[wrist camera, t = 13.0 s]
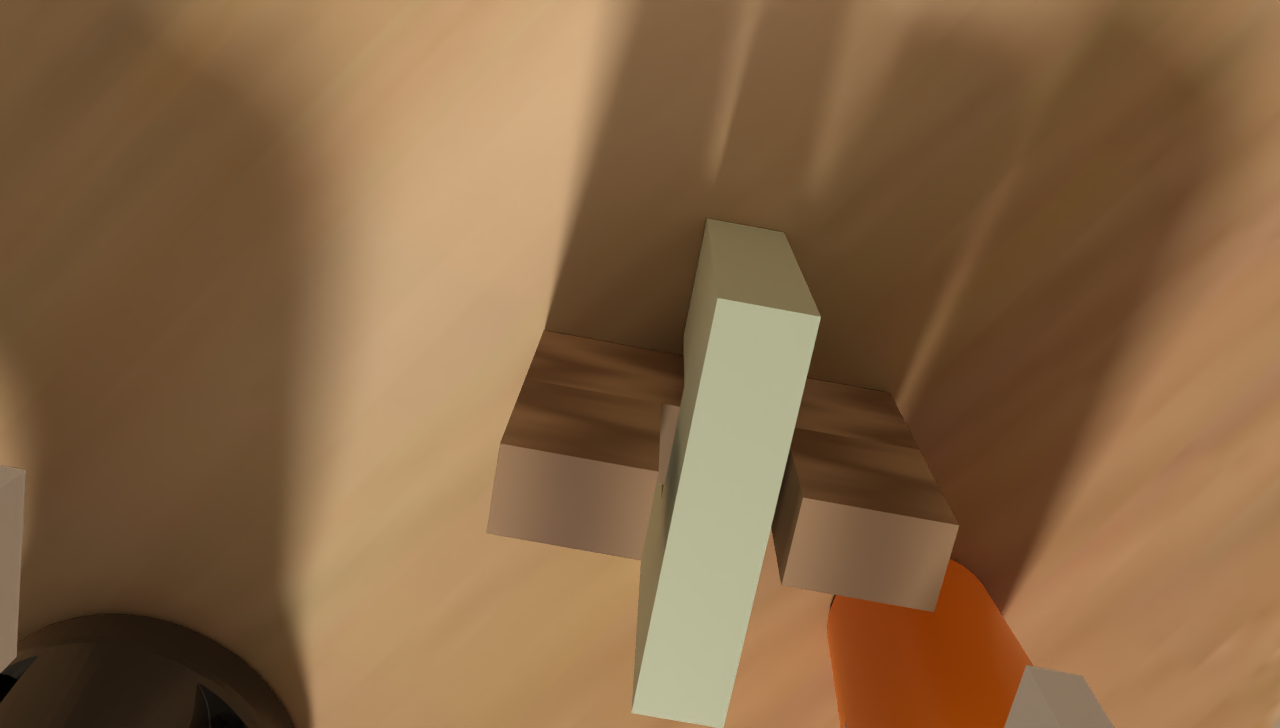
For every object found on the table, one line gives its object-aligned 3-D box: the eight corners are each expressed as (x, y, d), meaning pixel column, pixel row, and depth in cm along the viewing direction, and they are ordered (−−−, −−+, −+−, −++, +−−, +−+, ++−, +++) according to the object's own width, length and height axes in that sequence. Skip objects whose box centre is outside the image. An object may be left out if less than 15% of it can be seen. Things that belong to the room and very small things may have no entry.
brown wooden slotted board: (532, 400, 47) (486, 533, 35) (544, 330, 46) (500, 443, 35) (871, 461, 47) (934, 612, 36) (889, 392, 46) (959, 525, 35)
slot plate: (712, 555, 49) (723, 728, 37) (642, 542, 49) (631, 712, 37) (784, 232, 44) (820, 316, 33) (706, 218, 44) (717, 298, 33)
